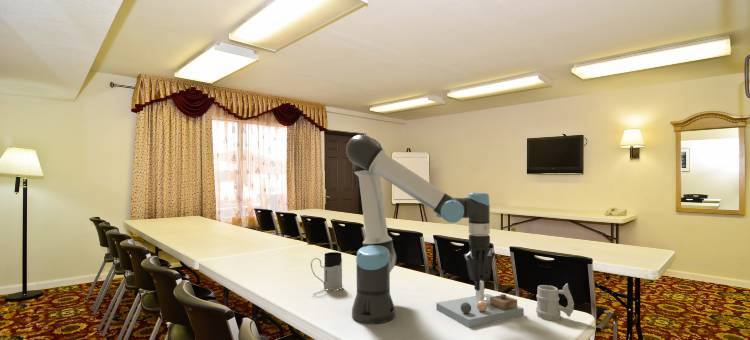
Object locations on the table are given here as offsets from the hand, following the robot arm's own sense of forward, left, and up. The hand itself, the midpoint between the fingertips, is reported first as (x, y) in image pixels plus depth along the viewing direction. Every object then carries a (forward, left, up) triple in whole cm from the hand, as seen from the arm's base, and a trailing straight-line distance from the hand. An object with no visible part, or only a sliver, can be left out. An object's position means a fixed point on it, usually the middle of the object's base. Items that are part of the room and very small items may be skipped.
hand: (479, 298), depth 134 cm
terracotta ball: (-6, -8, +1) cm, 10 cm away
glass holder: (-43, +49, -4) cm, 65 cm away
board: (-3, -3, -4) cm, 6 cm away
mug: (+17, -18, -4) cm, 25 cm away
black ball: (-12, -7, +1) cm, 14 cm away
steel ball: (+3, 0, -2) cm, 4 cm away
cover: (+4, -8, -1) cm, 9 cm away
